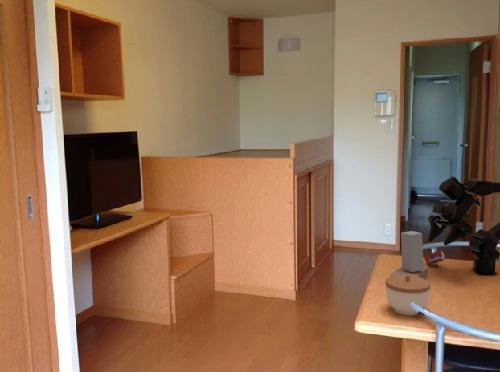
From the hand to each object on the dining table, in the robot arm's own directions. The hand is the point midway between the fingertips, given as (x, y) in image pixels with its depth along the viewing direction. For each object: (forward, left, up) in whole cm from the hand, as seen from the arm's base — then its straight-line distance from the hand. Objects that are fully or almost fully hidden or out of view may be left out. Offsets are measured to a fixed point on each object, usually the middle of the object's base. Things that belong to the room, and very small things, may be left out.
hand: (436, 243), depth 167 cm
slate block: (+9, +3, -9) cm, 13 cm away
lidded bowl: (+17, +30, -13) cm, 37 cm away
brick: (+10, +3, -14) cm, 17 cm away
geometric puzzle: (-4, -15, -13) cm, 20 cm away
